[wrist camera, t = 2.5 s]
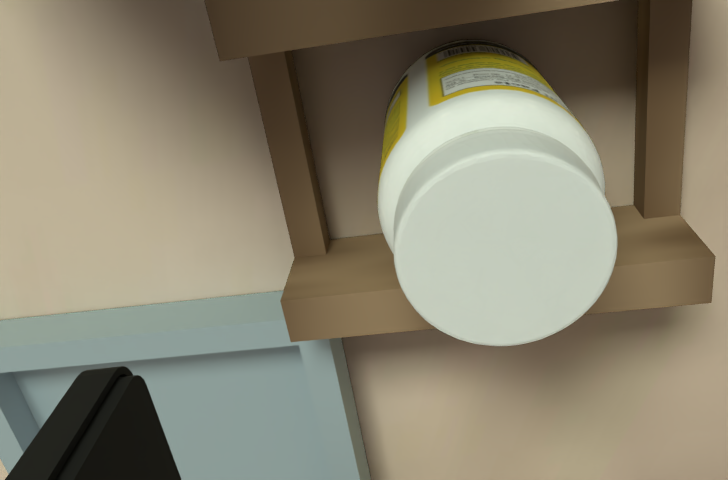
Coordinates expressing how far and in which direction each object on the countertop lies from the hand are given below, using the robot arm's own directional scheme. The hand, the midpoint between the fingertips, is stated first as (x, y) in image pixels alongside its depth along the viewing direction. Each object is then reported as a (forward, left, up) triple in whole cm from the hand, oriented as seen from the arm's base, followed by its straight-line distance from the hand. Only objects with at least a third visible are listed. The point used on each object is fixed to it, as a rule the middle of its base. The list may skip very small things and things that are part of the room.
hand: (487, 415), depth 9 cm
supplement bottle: (-1, 0, -12) cm, 12 cm away
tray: (+11, +11, -12) cm, 20 cm away
